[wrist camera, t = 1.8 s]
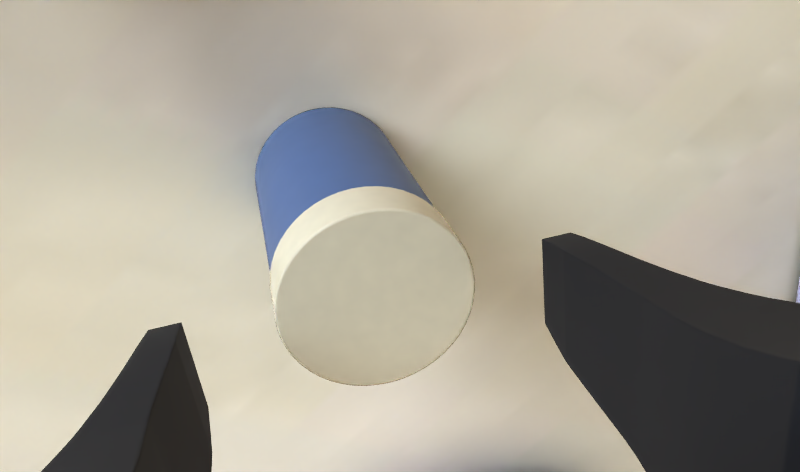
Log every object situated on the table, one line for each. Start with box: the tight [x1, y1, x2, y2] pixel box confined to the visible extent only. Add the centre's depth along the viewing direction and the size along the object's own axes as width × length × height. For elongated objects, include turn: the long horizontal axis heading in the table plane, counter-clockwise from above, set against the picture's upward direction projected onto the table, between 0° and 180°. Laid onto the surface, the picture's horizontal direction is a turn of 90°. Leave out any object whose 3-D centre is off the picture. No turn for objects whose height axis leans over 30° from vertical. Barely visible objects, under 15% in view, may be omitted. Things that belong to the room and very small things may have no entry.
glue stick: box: [255, 108, 475, 386], centre depth 18 cm, size 4×4×7 cm
